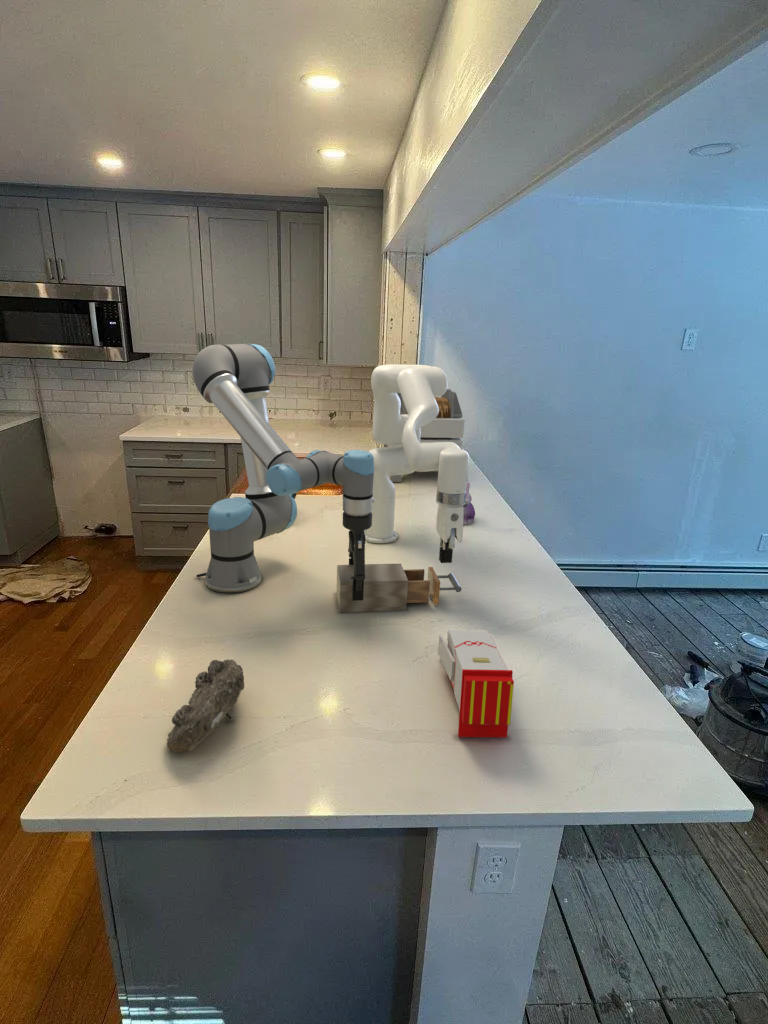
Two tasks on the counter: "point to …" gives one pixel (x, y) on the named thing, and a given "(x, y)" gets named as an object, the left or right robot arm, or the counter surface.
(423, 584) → the drawer
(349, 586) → the grey boxy block
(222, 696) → the fossil
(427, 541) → the counter surface
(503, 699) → the toy
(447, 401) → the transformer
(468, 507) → the figurine
